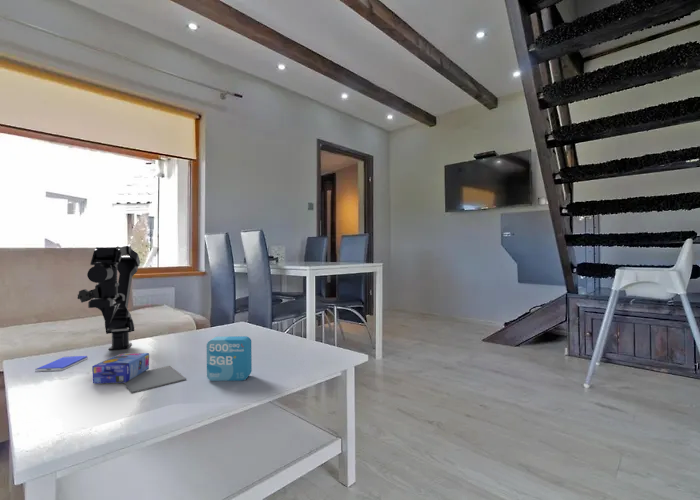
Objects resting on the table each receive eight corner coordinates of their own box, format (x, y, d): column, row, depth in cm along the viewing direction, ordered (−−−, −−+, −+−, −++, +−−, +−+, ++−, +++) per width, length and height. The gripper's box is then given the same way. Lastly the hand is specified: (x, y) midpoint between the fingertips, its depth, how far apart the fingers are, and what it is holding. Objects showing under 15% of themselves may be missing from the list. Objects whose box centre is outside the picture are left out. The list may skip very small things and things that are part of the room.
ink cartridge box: (149, 351, 112) (120, 367, 98) (150, 368, 112) (121, 387, 98) (118, 352, 112) (84, 368, 98) (119, 369, 112) (85, 388, 98)
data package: (206, 381, 102) (206, 340, 102) (212, 375, 107) (212, 336, 107) (247, 380, 102) (247, 339, 102) (251, 375, 107) (251, 336, 107)
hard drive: (63, 356, 125) (35, 368, 112) (87, 355, 125) (62, 367, 113) (63, 361, 125) (35, 373, 112) (87, 360, 125) (62, 372, 113)
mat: (119, 377, 106) (119, 376, 106) (169, 366, 115) (169, 365, 115) (131, 393, 94) (131, 391, 94) (186, 379, 103) (186, 378, 103)
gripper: (91, 279, 132) (91, 321, 132) (69, 283, 115) (69, 331, 115) (125, 278, 136) (125, 319, 136) (109, 282, 118) (109, 328, 118)
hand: (108, 324), depth 126 cm, fingers closed
